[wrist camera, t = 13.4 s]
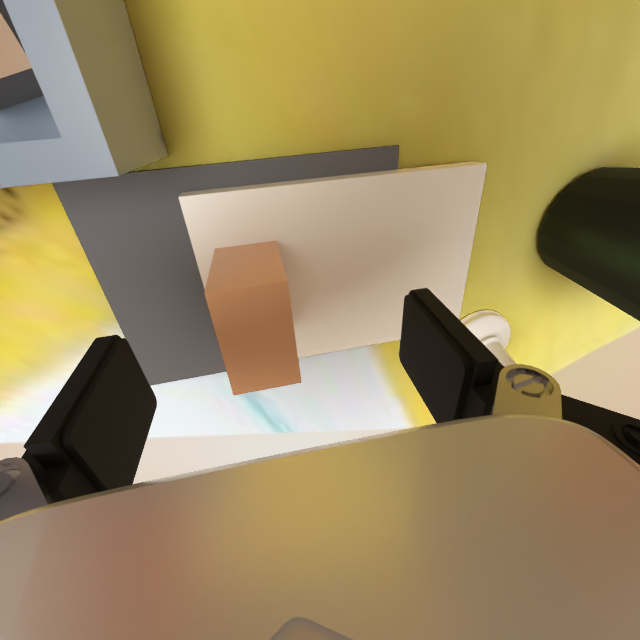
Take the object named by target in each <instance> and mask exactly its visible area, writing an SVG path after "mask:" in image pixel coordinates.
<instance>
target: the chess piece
mask: <svg viewBox="0 0 640 640" xmlns="http://www.w3.org/2000/svg"><path fill="white" fill-rule="evenodd" d="M461 322H462V323H463V324H464V325H465V326H466V327H467V328H468V329H469V330H470V331H471V332H472V333H473V334H474V335H475V336H476V337H477V338H478V339H479V340H480V341H481V342H482V343H483V344H484V345H485V346H486V347H487V348H488V349H489V350H490V351H491V352H492V353H493V354H494V355H495V356H496V357H497V358H498V359H499V360H498V361H499V362H500V363H501V364H502V365H503V366H504V367H506V366H509V365H513V364H516V362H515V361H514V360H513V359H512V358H511V357H510V355H509V354H508V353H507V352H506V351H505V350H504V349H505V347H506V346H507V344H508V342H509V339H510V333H511V331H510V326H509V323H508V322H507V321H506V320H505V319H504V318H503V316H502V315H501V314H499V313H498V312H496V311H492V310H482V311H478V312H474V313H472V314H470V315H468V316H466V317H465V318H463V319H462V320H461Z"/></svg>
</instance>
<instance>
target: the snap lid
mask: <svg viewBox="0 0 640 640" xmlns="http://www.w3.org/2000/svg"><path fill="white" fill-rule="evenodd" d="M486 169H487V163H481V162H474V161H472V162H462V163H453V164H444V165H434V166H425V167H416V168H406V169H397V170H387V171H378V172H369V173H359V174H350V175H340V176H331V177H322V178H312V179H303V180H293V181H284V182H275V183H265V184H256V185H247V186H237V187H228V188H218V189H209V190H200V191H190V192H182V193H181V195H180V196H179V197H178V198H179V201H180V205H181V208H182V212H183V215H184V219H185V222H186V226H187V229H188V233H189V237H190V240H191V244H192V247H193V251H194V254H195V258H196V261H197V265H198V268H199V272H200V275H201V279H202V282H203V286H204V289H205V292H204V294H205V297H206V301H207V304H208V308H209V311H210V315H211V318H212V322H213V325H214V329H215V332H216V336H217V339H218V343H219V346H220V350H221V353H222V357H223V360H224V364H225V367H226V371H227V374H228V377H229V381H230V384H231V388H232V391H233V395H238V394H243V393H248V392H253V391H259V390H264V389H269V388H275V387H280V386H285V385H290V384H296V383H301V377H300V369H299V362H298V358H302V357H307V356H313V355H318V354H324V353H329V352H335V351H341V350H346V349H352V348H357V347H363V346H368V345H374V344H380V343H385V342H391V341H396V340H401V329H402V317H403V306H404V297H405V295H409V292H410V291H411V290H415V289H422V288H428V289H429V290H430V291H431V292H432V293H433V294H434V295H435V296H436V297H437V298H438V299H439V300H440V301H441V302H442V303H443V304H444V305H445V306H446V307H447V308H448V309H449V310H450V311H451V312H452V313H453V314H454V315H455V316H456V317H457V318H458V319H459V318H460V312H461V307H462V301H463V296H464V290H465V285H466V279H467V274H468V268H469V263H470V257H471V252H472V246H473V241H474V235H475V229H476V224H477V218H478V213H479V207H480V202H481V196H482V191H483V185H484V180H485V174H486Z"/></svg>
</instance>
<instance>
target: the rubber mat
mask: <svg viewBox="0 0 640 640" xmlns="http://www.w3.org/2000/svg"><path fill="white" fill-rule="evenodd" d="M398 158H399V146H398V145H394V146H384V147H374V148H364V149H354V150H345V151H335V152H325V153H315V154H305V155H295V156H285V157H276V158H266V159H256V160H246V161H236V162H226V163H216V164H207V165H197V166H187V167H177V168H167V169H157V170H147V171H138V172H128V173H125V174H122V175H120V176H113V177H104V178H94V179H84V180H74V181H65V182H55V183H52V184H53V186H54V188H55V190H56V192H57V195H58V197H59V199H60V201H61V203H62V205H63V207H64V209H65V211H66V214H67V216H68V218H69V220H70V222H71V224H72V226H73V228H74V230H75V233H76V235H77V237H78V239H79V241H80V243H81V245H82V247H83V249H84V252H85V254H86V256H87V258H88V260H89V262H90V264H91V266H92V268H93V271H94V273H95V275H96V277H97V279H98V281H99V283H100V285H101V287H102V290H103V292H104V294H105V296H106V298H107V300H108V302H109V304H110V306H111V309H112V311H113V313H114V315H115V317H116V319H117V321H118V323H119V325H120V328H121V330H122V332H123V334H124V336H125V338H126V340H127V341H128V343H129V345H130V347H131V349H132V351H133V353H134V355H135V357H136V359H137V361H138V363H139V365H140V367H141V369H142V371H143V373H144V375H145V377H146V379H147V381H148V383H149V385H155V384H161V383H166V382H172V381H177V380H182V379H188V378H193V377H199V376H204V375H210V374H215V373H221V372H226V367H225V364H224V360H223V357H222V353H221V350H220V346H219V343H218V339H217V336H216V332H215V329H214V325H213V322H212V318H211V315H210V311H209V308H208V304H207V301H206V297H205V294H204V292H205V289H204V286H203V282H202V279H201V275H200V272H199V268H198V265H197V261H196V258H195V254H194V251H193V247H192V244H191V240H190V237H189V233H188V229H187V226H186V222H185V219H184V215H183V212H182V208H181V205H180V201H179V198H178V197H179V196H180V195H181V193H182V192H190V191H200V190H209V189H218V188H228V187H237V186H247V185H256V184H265V183H275V182H284V181H293V180H303V179H312V178H322V177H331V176H340V175H350V174H359V173H369V172H378V171H387V170H397V169H398ZM329 353H330V352H329ZM318 355H319V354H318ZM307 357H308V356H307ZM302 358H303V357H302Z"/></svg>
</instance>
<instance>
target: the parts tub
mask: <svg viewBox="0 0 640 640" xmlns="http://www.w3.org/2000/svg"><path fill="white" fill-rule="evenodd" d="M167 156H168V152H167V149H166V146H165V142H164V139H163V135H162V132H161V128H160V125H159V121H158V118H157V114H156V111H155V107H154V104H153V100H152V97H151V93H150V90H149V86H148V83H147V79H146V76H145V72H144V69H143V65H142V62H141V58H140V55H139V51H138V48H137V44H136V41H135V37H134V34H133V30H132V27H131V23H130V20H129V16H128V13H127V9H126V6H125V2H124V0H0V188H6V187H16V186H26V185H35V184H45V183H55V182H65V181H74V180H84V179H94V178H104V177H113V176H120V175H122V174H125V173H127V172H130V171H132V170H135V169H137V168H140V167H142V166H145V165H147V164H150V163H152V162H155V161H157V160H160V159H162V158H165V157H167Z"/></svg>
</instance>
